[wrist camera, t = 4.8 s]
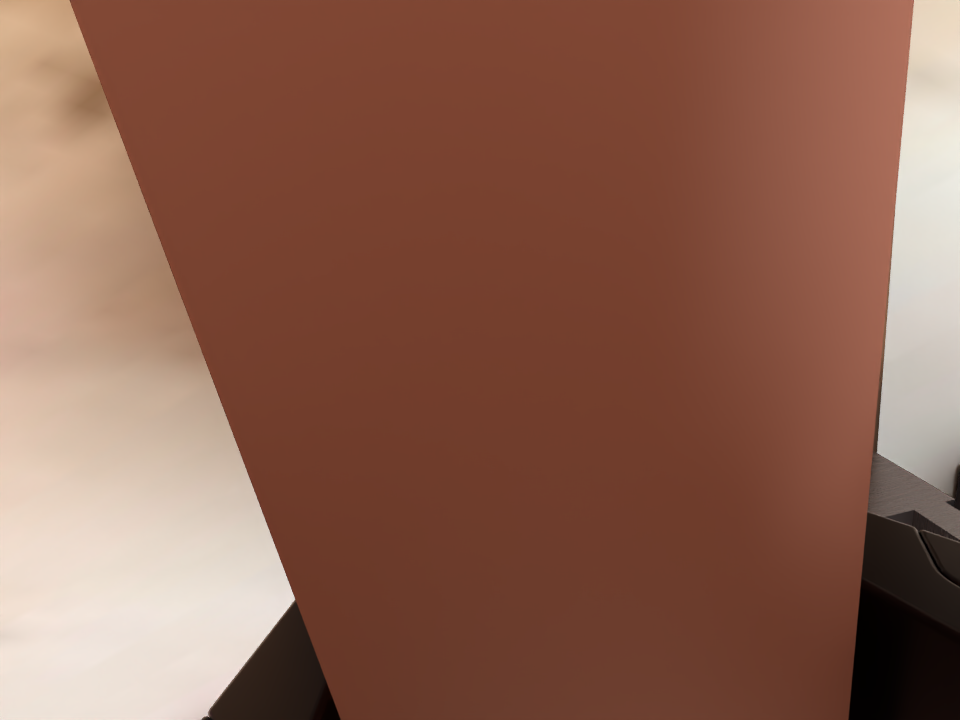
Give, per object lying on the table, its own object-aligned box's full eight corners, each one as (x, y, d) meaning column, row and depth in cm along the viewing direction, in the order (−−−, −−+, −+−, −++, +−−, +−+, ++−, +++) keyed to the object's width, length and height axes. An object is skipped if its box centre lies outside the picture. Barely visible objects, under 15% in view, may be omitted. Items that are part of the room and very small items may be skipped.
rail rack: (846, 511, 27) (1050, 666, 18) (652, 560, 26) (771, 743, 18) (886, -220, 17) (1348, -595, 9) (583, -171, 17) (770, -526, 8)
